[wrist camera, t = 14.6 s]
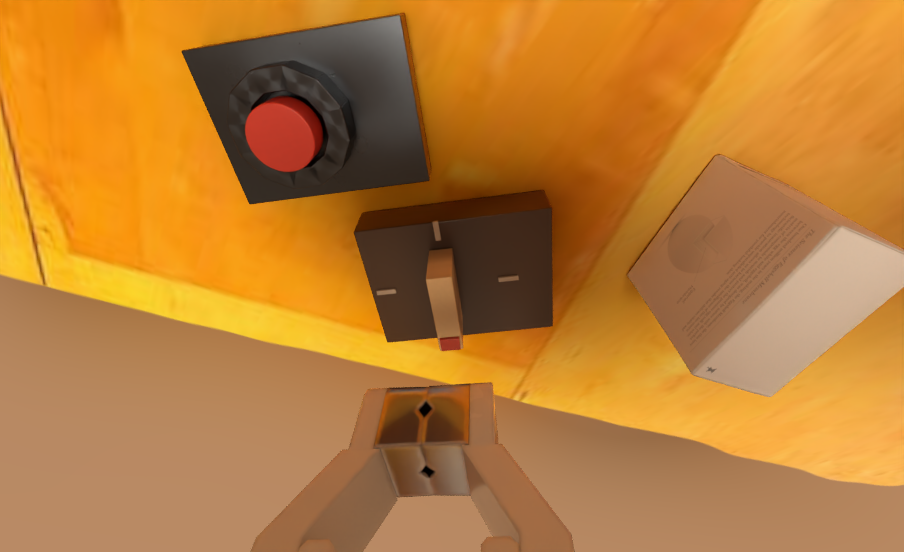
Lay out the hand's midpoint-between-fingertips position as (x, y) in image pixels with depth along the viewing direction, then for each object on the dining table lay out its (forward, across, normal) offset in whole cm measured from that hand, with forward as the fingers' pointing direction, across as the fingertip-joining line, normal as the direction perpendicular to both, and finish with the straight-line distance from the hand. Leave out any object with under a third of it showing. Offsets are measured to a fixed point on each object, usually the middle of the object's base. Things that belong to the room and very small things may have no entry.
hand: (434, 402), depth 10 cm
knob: (+18, +2, +9) cm, 20 cm away
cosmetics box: (+22, -17, +8) cm, 29 cm away
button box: (+20, +8, -3) cm, 22 cm away
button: (+17, +9, -3) cm, 19 cm away
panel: (+21, +1, +8) cm, 23 cm away
